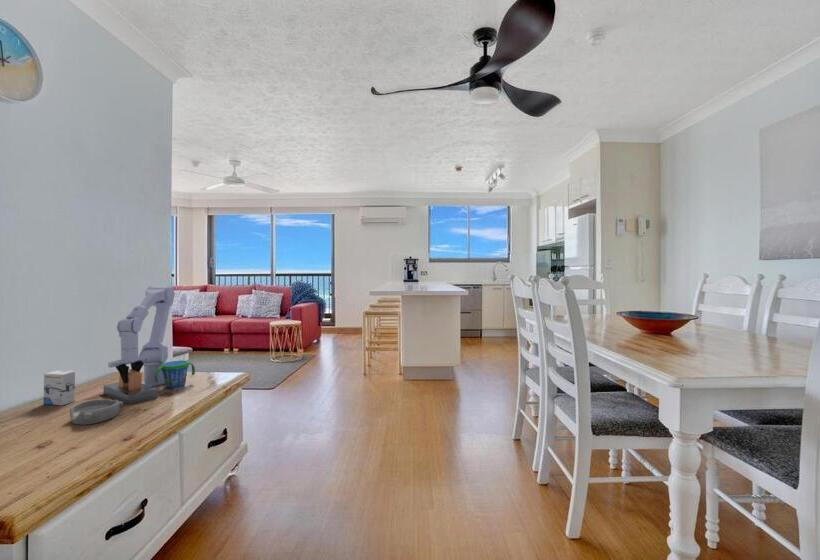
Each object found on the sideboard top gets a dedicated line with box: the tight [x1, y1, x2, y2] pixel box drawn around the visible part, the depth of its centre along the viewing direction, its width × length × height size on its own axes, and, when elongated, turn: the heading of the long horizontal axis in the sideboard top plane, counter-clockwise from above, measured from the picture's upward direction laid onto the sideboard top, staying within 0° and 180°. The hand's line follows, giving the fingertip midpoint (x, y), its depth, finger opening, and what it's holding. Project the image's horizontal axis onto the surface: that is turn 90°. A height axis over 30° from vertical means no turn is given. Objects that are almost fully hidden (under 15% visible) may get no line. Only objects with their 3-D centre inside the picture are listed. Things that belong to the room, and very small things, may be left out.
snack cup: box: [154, 360, 196, 389], centre depth 173 cm, size 16×10×10 cm
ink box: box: [43, 370, 76, 406], centre depth 151 cm, size 9×5×12 cm, turn 84°
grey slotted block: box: [103, 381, 158, 405], centre depth 160 cm, size 10×24×4 cm, turn 56°
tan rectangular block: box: [118, 367, 143, 391], centre depth 159 cm, size 3×10×7 cm, turn 63°
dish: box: [69, 398, 124, 426], centre depth 136 cm, size 14×14×5 cm
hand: (129, 381), depth 160 cm, fingers closed on tan rectangular block, 3 cm apart
